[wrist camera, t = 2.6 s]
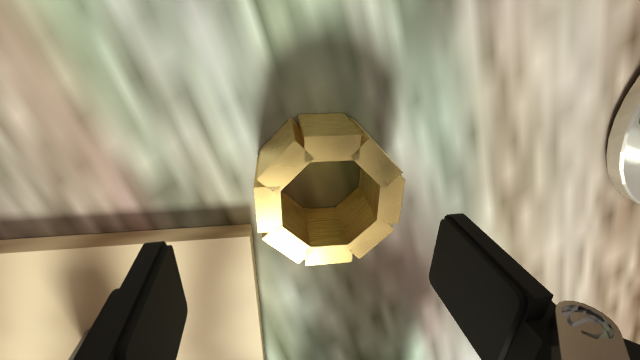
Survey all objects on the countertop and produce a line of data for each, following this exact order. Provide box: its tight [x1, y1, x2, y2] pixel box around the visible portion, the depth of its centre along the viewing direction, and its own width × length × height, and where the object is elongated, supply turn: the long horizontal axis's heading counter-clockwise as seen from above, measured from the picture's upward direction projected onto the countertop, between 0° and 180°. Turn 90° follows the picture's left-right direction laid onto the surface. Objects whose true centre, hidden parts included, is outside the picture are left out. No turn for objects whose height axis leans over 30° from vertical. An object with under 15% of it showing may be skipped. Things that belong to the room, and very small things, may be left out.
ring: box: [254, 113, 405, 266], centre depth 15 cm, size 7×7×4 cm
